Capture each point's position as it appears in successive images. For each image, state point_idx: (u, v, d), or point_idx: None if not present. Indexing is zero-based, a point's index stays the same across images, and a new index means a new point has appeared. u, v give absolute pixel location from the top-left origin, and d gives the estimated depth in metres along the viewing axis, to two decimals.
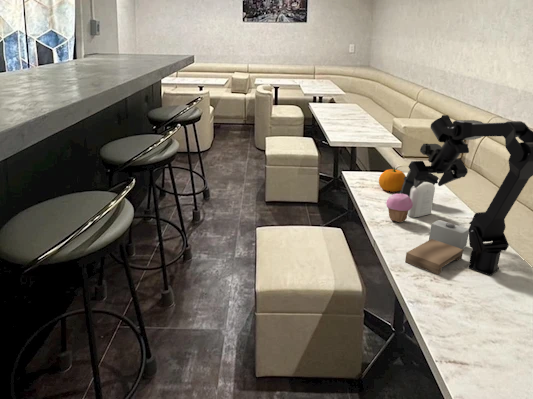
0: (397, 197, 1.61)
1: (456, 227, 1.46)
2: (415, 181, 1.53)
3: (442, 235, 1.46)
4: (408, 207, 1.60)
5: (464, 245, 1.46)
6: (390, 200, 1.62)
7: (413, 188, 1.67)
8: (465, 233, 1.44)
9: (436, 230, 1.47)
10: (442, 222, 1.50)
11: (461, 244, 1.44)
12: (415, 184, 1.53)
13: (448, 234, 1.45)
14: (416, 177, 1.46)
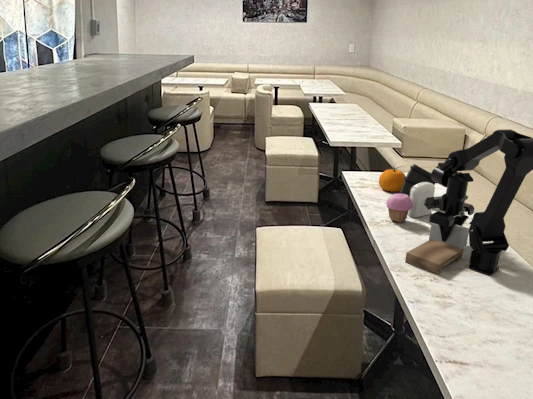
0: (397, 197, 1.61)
1: (456, 227, 1.46)
2: (443, 234, 1.45)
3: None
4: (408, 207, 1.60)
5: (464, 245, 1.46)
6: (390, 200, 1.62)
7: (413, 188, 1.67)
8: (465, 233, 1.44)
9: (436, 230, 1.47)
10: None
11: (461, 243, 1.44)
12: (444, 237, 1.45)
13: None
14: (447, 224, 1.38)
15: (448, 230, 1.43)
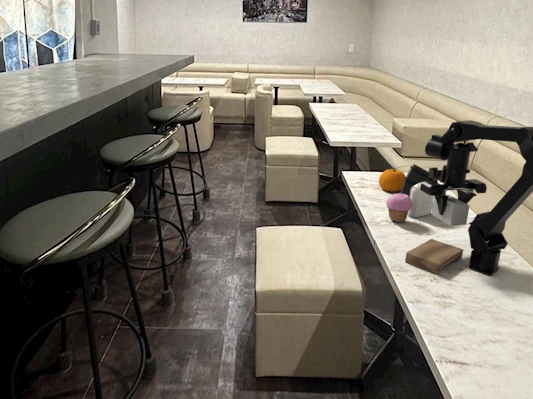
0: (397, 197, 1.61)
1: (456, 202, 1.38)
2: (439, 206, 1.39)
3: None
4: (408, 207, 1.60)
5: (461, 222, 1.37)
6: (390, 200, 1.62)
7: (413, 188, 1.67)
8: (461, 208, 1.35)
9: None
10: None
11: (455, 219, 1.36)
12: (440, 210, 1.39)
13: None
14: (430, 193, 1.33)
15: (441, 202, 1.37)
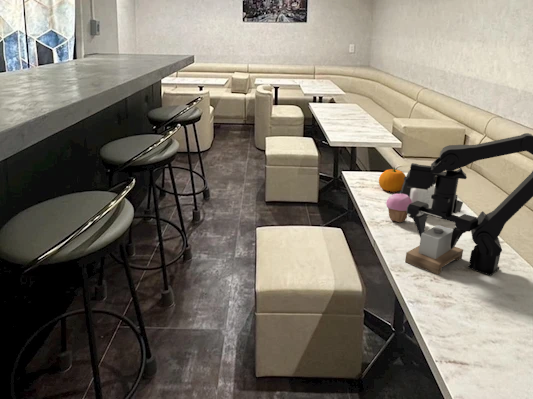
0: (397, 197, 1.61)
1: (437, 234, 1.32)
2: None
3: None
4: None
5: (430, 254, 1.31)
6: (390, 200, 1.62)
7: (413, 188, 1.67)
8: (429, 239, 1.31)
9: None
10: (447, 230, 1.35)
11: (423, 247, 1.33)
12: None
13: None
14: (407, 210, 1.36)
15: None
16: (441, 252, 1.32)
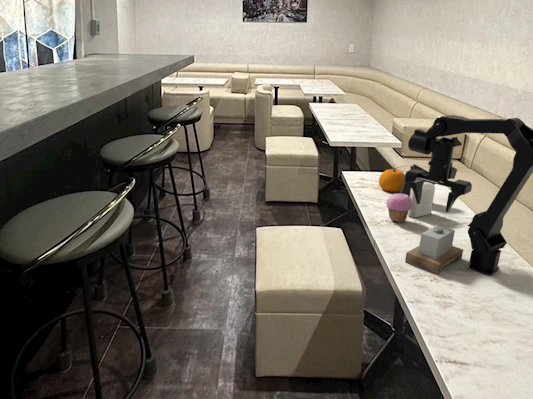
0: (397, 197, 1.61)
1: (437, 234, 1.32)
2: None
3: None
4: (408, 207, 1.60)
5: (430, 254, 1.31)
6: (390, 200, 1.62)
7: None
8: (429, 239, 1.31)
9: None
10: (447, 230, 1.35)
11: (423, 247, 1.33)
12: None
13: None
14: (404, 177, 1.44)
15: None
16: (441, 252, 1.32)
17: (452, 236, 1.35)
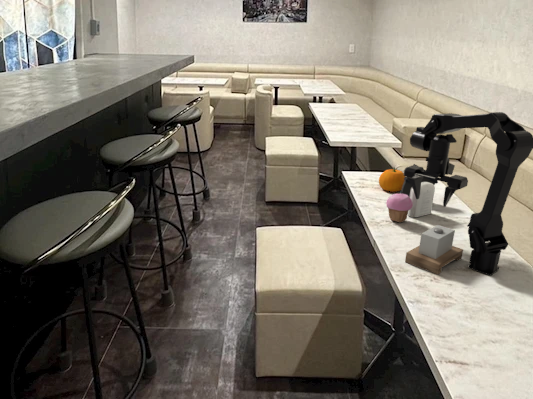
0: (397, 197, 1.61)
1: (437, 234, 1.32)
2: None
3: None
4: (408, 207, 1.60)
5: (430, 254, 1.31)
6: (390, 200, 1.62)
7: None
8: (429, 239, 1.31)
9: None
10: (447, 230, 1.35)
11: (423, 247, 1.33)
12: None
13: None
14: (404, 173, 1.50)
15: None
16: (441, 252, 1.32)
17: (452, 236, 1.35)
